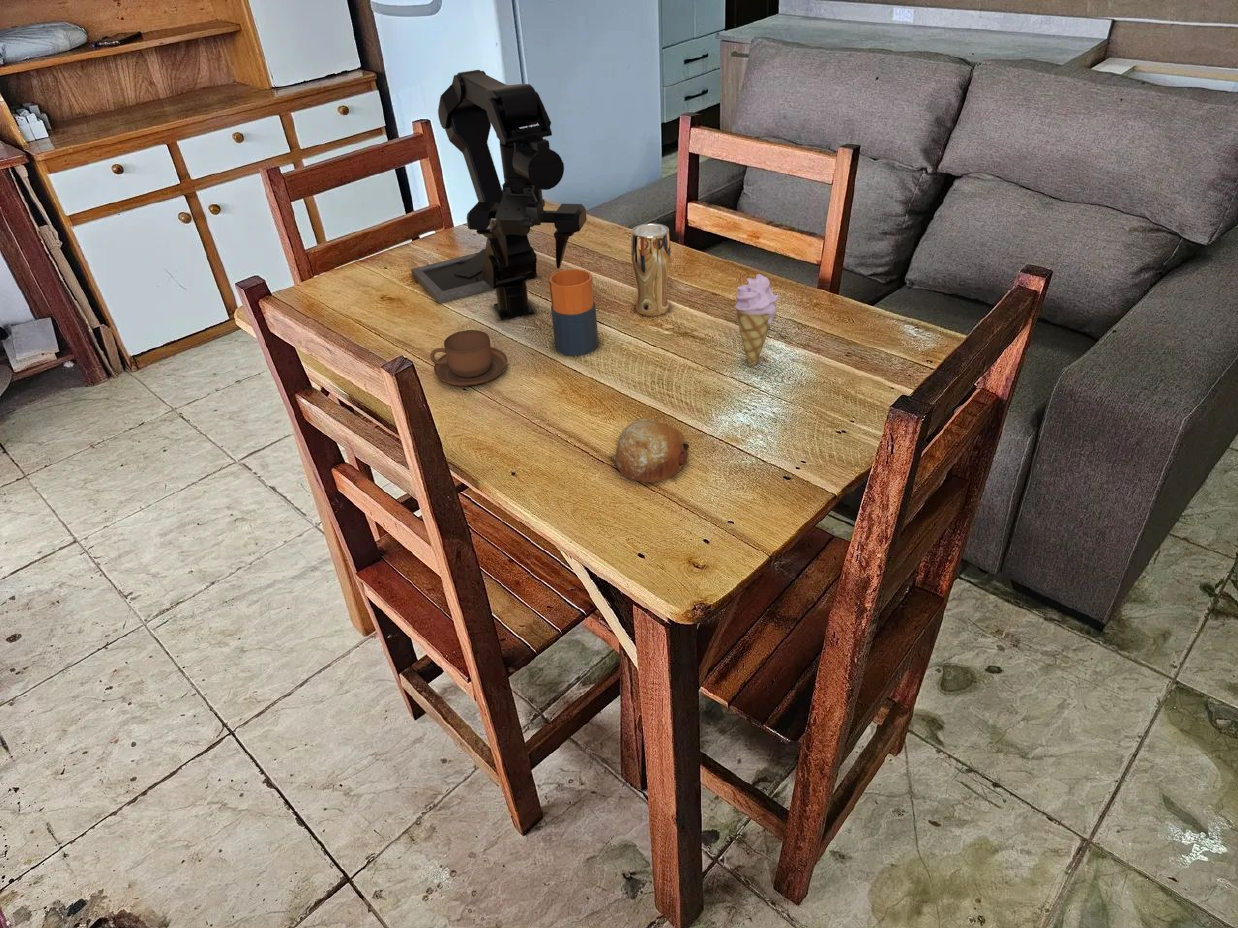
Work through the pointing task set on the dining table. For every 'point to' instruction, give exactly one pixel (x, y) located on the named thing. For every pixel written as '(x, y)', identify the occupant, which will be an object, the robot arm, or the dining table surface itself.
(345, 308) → the dining table surface
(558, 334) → the jar
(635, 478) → the bread roll
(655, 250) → the beer glass
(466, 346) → the cup and saucer
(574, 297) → the cup
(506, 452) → the dining table surface
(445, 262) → the picture frame
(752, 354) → the ice cream cone
